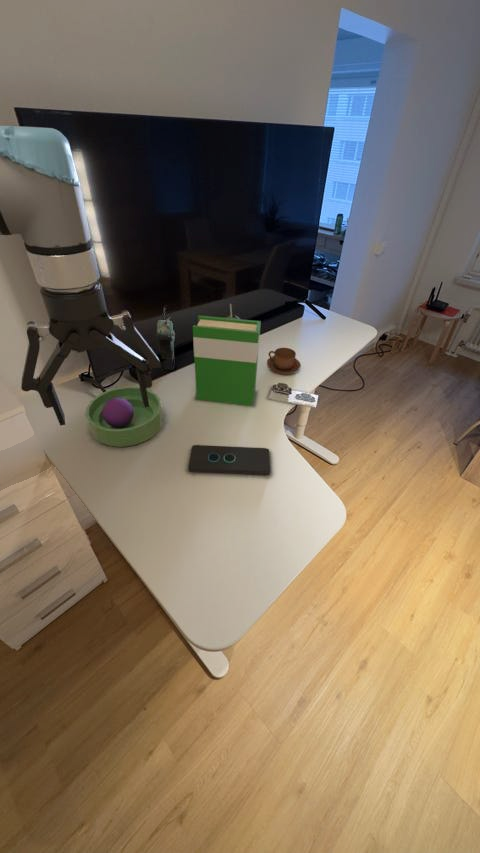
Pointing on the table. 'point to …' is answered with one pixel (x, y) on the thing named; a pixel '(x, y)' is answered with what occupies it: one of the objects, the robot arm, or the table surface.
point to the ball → (117, 412)
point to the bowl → (139, 427)
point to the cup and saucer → (283, 361)
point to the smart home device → (229, 460)
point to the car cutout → (292, 396)
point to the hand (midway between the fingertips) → (105, 411)
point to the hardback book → (226, 359)
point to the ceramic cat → (166, 339)
